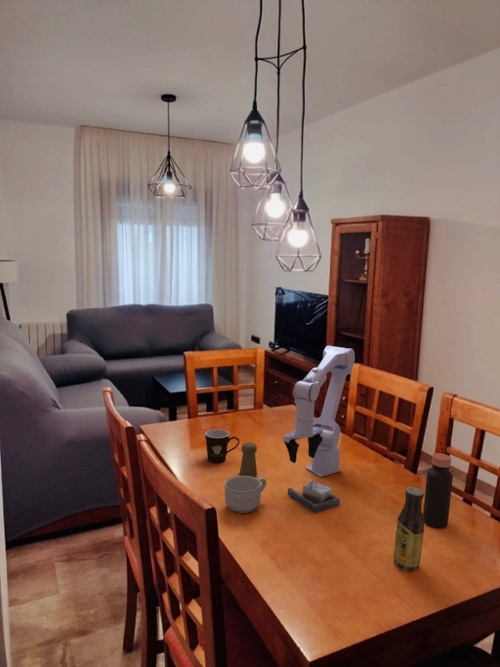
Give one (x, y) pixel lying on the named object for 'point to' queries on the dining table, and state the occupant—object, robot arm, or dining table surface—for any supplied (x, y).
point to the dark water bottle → (438, 492)
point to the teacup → (243, 493)
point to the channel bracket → (312, 506)
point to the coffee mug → (218, 445)
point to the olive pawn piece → (248, 460)
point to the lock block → (316, 492)
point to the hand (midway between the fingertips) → (302, 459)
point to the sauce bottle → (410, 532)
